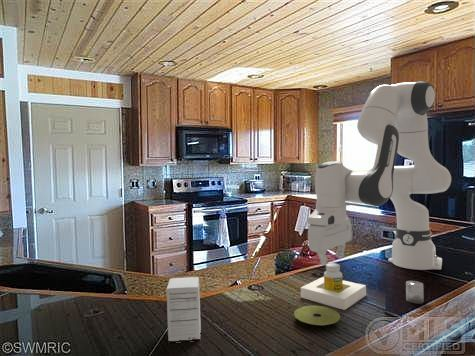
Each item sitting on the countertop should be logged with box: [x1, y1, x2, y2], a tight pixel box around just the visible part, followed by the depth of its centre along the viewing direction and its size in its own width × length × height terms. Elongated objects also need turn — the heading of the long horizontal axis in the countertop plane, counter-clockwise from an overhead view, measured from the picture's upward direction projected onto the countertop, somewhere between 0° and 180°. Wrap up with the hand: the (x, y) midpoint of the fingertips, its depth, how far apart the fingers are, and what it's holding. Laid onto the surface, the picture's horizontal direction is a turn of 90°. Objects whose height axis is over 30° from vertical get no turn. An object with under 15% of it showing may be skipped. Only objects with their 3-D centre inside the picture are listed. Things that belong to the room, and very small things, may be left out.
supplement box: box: [166, 276, 202, 341], centre depth 78 cm, size 7×7×13 cm
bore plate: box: [300, 276, 367, 311], centre depth 99 cm, size 14×14×3 cm
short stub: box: [405, 280, 425, 305], centre depth 94 cm, size 4×4×5 cm
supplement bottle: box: [323, 262, 344, 293], centre depth 99 cm, size 5×5×10 cm
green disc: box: [293, 305, 341, 326], centre depth 82 cm, size 11×11×2 cm
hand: (332, 260), depth 99 cm, fingers open, 8 cm apart
